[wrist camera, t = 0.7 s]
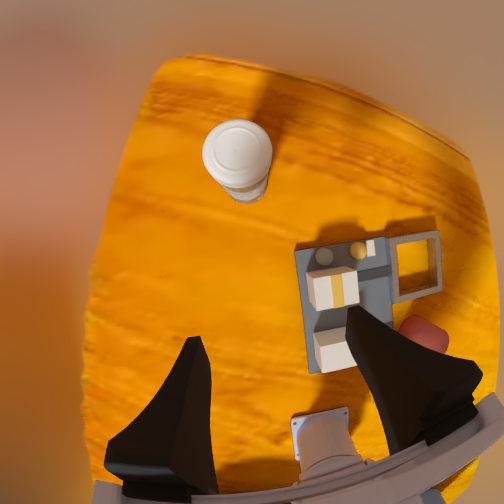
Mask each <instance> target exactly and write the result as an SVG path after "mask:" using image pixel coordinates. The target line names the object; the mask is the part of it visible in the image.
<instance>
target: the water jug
mask: <svg viewBox="0 0 504 504" xmlns="http://www.w3.org/2000/svg"><path fill="white" fill-rule="evenodd" d="M420 496H421V499H422V501H423V504H446V502H445V501H444V499H443V497H442V496H441V493H440V492H439V490H438V489H428V490H426V491H424V492H422V493H420Z"/></svg>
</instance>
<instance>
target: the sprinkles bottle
mask: <svg viewBox="0 0 504 504" xmlns="http://www.w3.org/2000/svg"><path fill="white" fill-rule="evenodd" d="M202 156H203V162H204V164H205V167H206V168H207V170H208V172H209V173H210V174H211V176H212V177H213V178H214V179H215V180H216V181H217V182H219V183H220V184H221V185H222V186H223V187H224V189H225V190H226V191H227V192H228V194H229V195H230V196H231V198H232V199H234V200H235V201H236V202H239V203H242V204H250V203H254V202H256V201H258V200H259V199H260V198H261V197H262V196H263V195H264V193H265V191H266V188H267V179H268V171H269V168H270V165H271V161H272V144H271V141H270V138H269V136H268V135H267V133H266V132H265V131H264V129H263V128H261V127H260V126H259V125H257V124H256V123H254V122H251V121H248V120H243V119H233V120H229V121H225V122H223V123H221V124H219V125H217V126H216V127H215V128H214V129H213V130H212V131H211V132H210V133H209V134H208V136H207V137H206V139H205V142H204V145H203V149H202Z"/></svg>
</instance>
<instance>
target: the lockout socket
mask: <svg viewBox="0 0 504 504" xmlns="http://www.w3.org/2000/svg"><path fill="white" fill-rule="evenodd" d="M425 239H427V249H428V263H429V283H428V284H425V285H421V286H417V287H413V288H409V289H405V290H401V291H399V280H398V265H397V254H396V245H398V244H403V243H409V242H414V241H419V240H425ZM384 240H385V248H386V258H387V266H388V283H389V301H390V302H391V303H392V304H397V303H401V302H405V301H408V300H412V299H416V298H419V297H423V296H426V295H430V294H433V293H436V292H440V291H442V262H441V247H440V236H439V230H428V231H422V232H416V233H410V234H405V235H399V236H393V237H387V238H385V239H384Z"/></svg>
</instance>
